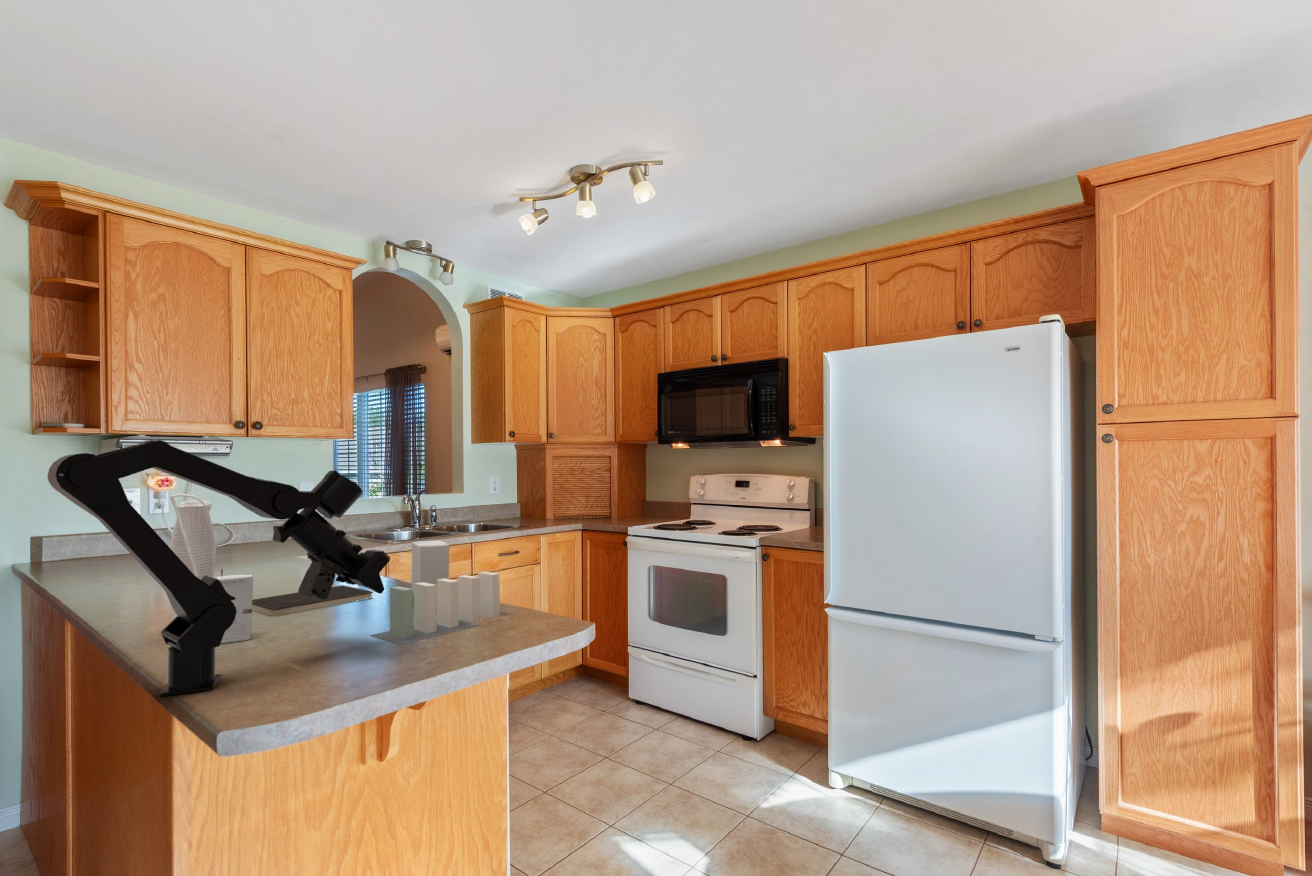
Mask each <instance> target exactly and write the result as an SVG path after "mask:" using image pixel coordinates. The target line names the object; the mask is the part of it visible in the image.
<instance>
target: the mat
mask: <svg viewBox="0 0 1312 876" xmlns="http://www.w3.org/2000/svg"><path fill="white" fill-rule="evenodd" d="M469 623H470V622H468V623H467V621H466V622H465V621H463V620H459V626H457V627H453V628H449V627H445V626H441V625H438V624H437V619H436V632H432V633H425V632H421V631H418V630H414V625H413V637H411V638H407V639H402V638H398V637H395V636H392V635H390V630H388V631H383V632H382V631H381V632H379V633H373V634H369V637H372V638H375V639H379V640H381V641H385V642H387V643H391V644H393V645H398V646H401V645H406V644H410V643H414V642H417V641H418V642H419V641H422V640H427V639H431V638H434V637H439V636H442V635H447V634H451V633H456V632H460V631H463V630H464V631H465V630H467V629H471V628H476V627H480V626H481V625H473V624H472V623H470V624H469ZM471 624H472V625H471ZM474 624H475V623H474Z"/></svg>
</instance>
